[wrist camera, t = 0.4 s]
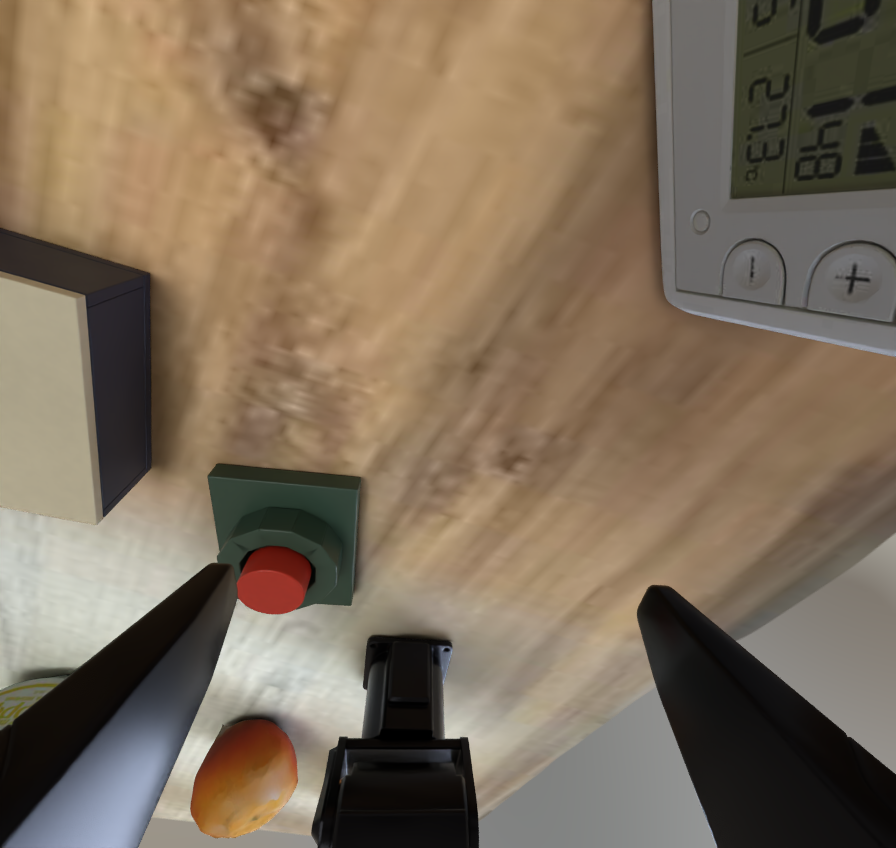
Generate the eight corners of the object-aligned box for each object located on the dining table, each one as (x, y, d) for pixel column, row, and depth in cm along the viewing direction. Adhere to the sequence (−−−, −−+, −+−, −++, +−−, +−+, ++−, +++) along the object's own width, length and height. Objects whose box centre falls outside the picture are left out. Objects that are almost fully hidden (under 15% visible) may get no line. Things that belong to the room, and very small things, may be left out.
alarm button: (312, 590, 25) (304, 616, 24) (249, 586, 25) (238, 612, 23) (311, 547, 24) (303, 573, 22) (244, 542, 23) (231, 567, 22)
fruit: (172, 730, 35) (182, 840, 29) (271, 677, 39) (297, 765, 33) (199, 774, 39) (212, 879, 33) (287, 722, 43) (312, 807, 37)
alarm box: (354, 591, 29) (346, 631, 27) (234, 583, 29) (214, 624, 26) (361, 476, 25) (353, 512, 22) (216, 463, 24) (190, 498, 21)
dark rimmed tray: (-60, 422, 22) (-152, 468, 18) (-126, 189, 17) (-272, 192, 13) (151, 468, 24) (104, 517, 20) (150, 272, 19) (87, 294, 15)
